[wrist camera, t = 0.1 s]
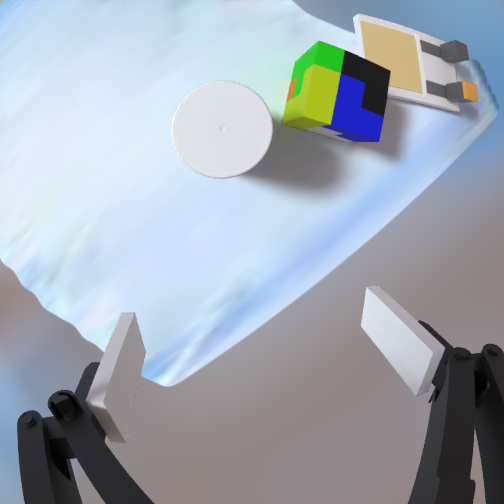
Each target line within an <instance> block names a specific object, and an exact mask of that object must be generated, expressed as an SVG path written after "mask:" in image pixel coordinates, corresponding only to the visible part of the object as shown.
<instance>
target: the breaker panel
mask: <svg viewBox="0 0 504 504" xmlns="http://www.w3.org/2000/svg"><path fill="white" fill-rule="evenodd" d="M353 21H354V27H355V34H356V42H357V49H358V56H360V57H362V58H365V59H367V60H369V61H371V62H373V63H376V64H378V65H380V66H382V67H384V68H386V69H388V70H390V71H391V74H390V81H389V88H388V95H387V97H390V98H395V99H401V100H406V101H411V102H415V103H420V104H424V105H429V106H433V107H437V108H441V109H445V110H448V111H452V112H458V111H460V110H459V103H457V102H454V101H451V100H447V93H446V84H448V83H455V82H457V79H456V72H455V65H454V63H451V62H449V61H446V60H444V59H442V55H441V49H440V45H441V44H444V43H446V42H444V41H442V40H439V39H437V38H435V37H432V36H429V35H427V34H424V33H422V32H419V31H416V30H413V29H410V28H407V27H404V26H401V25H398V24H395V23H392V22H388V21H385V20H381V19H378V18H374V17H370V16H366V15H362V14H357V15H356V16H355V17H353Z"/></svg>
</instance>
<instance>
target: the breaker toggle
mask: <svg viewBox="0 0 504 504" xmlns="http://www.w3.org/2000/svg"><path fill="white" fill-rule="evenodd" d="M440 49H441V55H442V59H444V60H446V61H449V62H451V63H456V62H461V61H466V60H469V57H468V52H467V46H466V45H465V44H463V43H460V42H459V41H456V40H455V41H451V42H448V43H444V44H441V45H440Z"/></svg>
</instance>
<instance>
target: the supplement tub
mask: <svg viewBox="0 0 504 504" xmlns="http://www.w3.org/2000/svg"><path fill="white" fill-rule="evenodd" d="M171 134H172V141H173V144H174V147H175V150H176V152H177V154H178V155H179V157H180V158H181V160H182V161H183V162H184V163H185V164H186V165H187V166H188V167H189V168H191V169H192V170H193V171H195V172H197V173H199V174H201V175H203V176H207V177H211V178H222V179H223V178H231V177H235V176H238V175H241V174H243V173H245V172H247V171H249V170H251V169H252V168H253V167H255V166H256V165H257V164H258V163H259V162H260V161H261V160H262V159H263V157H264V156H265V154H266V153H267V151H268V149H269V147H270V144H271V141H272V136H273V121H272V116H271V113H270V111H269V108H268V106H267V105H266V103H265V102H264V100H263V99H262V98H261V97H260V96H259V95H258V94H257V93H256V92H255V91H253V90H252V89H250V88H249V87H247V86H245V85H242V84H240V83H236V82H232V81H214V82H210V83H206V84H204V85H201V86H199V87H197V88H196V89H194V90H193V91H191V92H190V93H189V94H188V95H187V96H186V97H185V98H184V99H183V100H182V101H181V103H180V104H179V105H178V107H177V109H176V111H175V114H174V116H173V120H172V127H171Z"/></svg>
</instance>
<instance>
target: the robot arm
mask: <svg viewBox="0 0 504 504" xmlns="http://www.w3.org/2000/svg"><path fill="white" fill-rule="evenodd" d="M361 327H362V328H363V329H364V331H365V332H366V333H367V334H368V336H369V337H370V338H371V339H372V341H373V342H374V343H375V344H376V346H377V347H378V348H379V349H380V351H381V352H382V353H383V354H384V355H385V357H386V358H387V359H388V361H389V362H390V363H391V364H392V366H393V367H394V368H395V370H396V371H397V372H398V373H399V375H400V376H401V377H402V379H403V380H404V381H405V383H406V384H407V385H408V386H409V387H410V389H411V390H412V391H413V393H414V394H415V396H418V395H421V394H423V393H425V392H428V390H429V388H430V385H431V383H433V385H434V386H435V389H434V391H433V394H432V396H431V398H430V400H429V403H430V402H431V401H432V405H431V412H430V418H429V424H428V429H427V434H426V439H425V444H424V448H423V453H422V457H421V461H420V465H419V469H418V472H417V476H416V480H415V483H414V486H413V489H412V493H411V496H410V499H409V502H408V504H473V499H474V493H475V481H474V480H471V479H470V472H471V465H472V455H473V443H474V427H475V431H476V435H477V440H478V446H479V451H480V457H481V463H482V470H483V478H484V487H485V498H486V504H504V353H503V351H502V349H501V348H499V347H498V346H497V345H494V344H486V345H485V346H484V347H483V349H482V352H481V353H476V354H471V353H470V351H468V350H467V349H465V348H461V347H456V348H453V347H452V346H451V345H450V344H449V343H448V342H447V341H446V340H445V339H444V338H442V337H441V336H440V335H438V333H437V332H436V331H434V329H433V328H432V327H430V326H429V325H428V324H427V323H425V322H423V321H420V320H419V321H416V320H415V319H414V318H413V317H412V316H411V315H410V314H409V313H408V312H407V311H405V310H404V309H403V308H402V307H401V306H400V305H399V304H398V303H397V302H395V301H394V300H393V299H392V298H391V297H390V296H389V295H388V294H387V293H385V292H384V291H383V290H382V289H381V288H380V287H379V286H377V285H376V286H370V287H366V295H365V302H364V309H363V317H362V322H361ZM145 354H146V351H145V347H144V344H143V341H142V337H141V334H140V330H139V326H138V323H137V319H136V315H135V312H130V313H122V314H121V316H120V318H119V320H118V323H117V325H116V327H115V329H114V332H113V334H112V336H111V338H110V341H109V343H108V345H107V348H106V350H105V353H104V355H103V357H102V360H101V362H92V363H90V364H89V365H88V366H87V368H86V369H85V370H84V373H83V375H82V378H81V379H80V382H79V384H78V387H77V389H76V391H75V394H74V393H73V392H72V391H69V390H61V391H57V392H56V393H54V394H52V396H51V397H50V398H49V400H48V408H49V409H50V411H51V412H52V414H53V415H54V416H53V417H46V418H42V417H41V415H40V414H39V413H38V412H37V411H34V410H32V411H27V412H24V413H23V414H22V415H21V416H20V417H19V419H18V423H17V432H18V453H19V465H20V474H21V482H22V489H23V496H24V501H25V504H82V501H81V497H80V494H79V491H78V488H77V484H76V481H75V477H74V473H73V469H72V466H71V461H70V459H73V458H77V459H78V462H79V463H80V465H81V467H82V468H83V470H84V471H85V473H86V475H87V477H88V478H89V480H90V481H91V482H92V484H93V486H94V487H95V489H96V490H97V492H98V493H99V495H100V496H101V498H102V499H103V501H104V502H105V503H106V504H154V503H153V502H152V501H151V500H150V499H149V498H148V496H147V495H146V494H145V493H144V492H143V491H142V490H141V489H140V487H139V486H138V485H137V484H136V483H135V481H134V480H133V479H132V478H131V477H130V476H129V474H128V473H127V472H126V470H125V469H124V468H123V467H122V465H121V464H120V463H119V461H118V460H117V459H116V457H115V456H114V455H113V453H112V452H111V451H110V449H109V448H108V446H107V445H106V444H105V442H104V441H105V437H106V435H107V437H108V439H109V440H110V441H111V442H117V443H127V439H128V433H129V428H130V422H131V417H132V412H133V407H134V402H135V397H136V393H137V388H138V384H139V379H140V375H141V371H142V367H143V362H144V358H145Z"/></svg>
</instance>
